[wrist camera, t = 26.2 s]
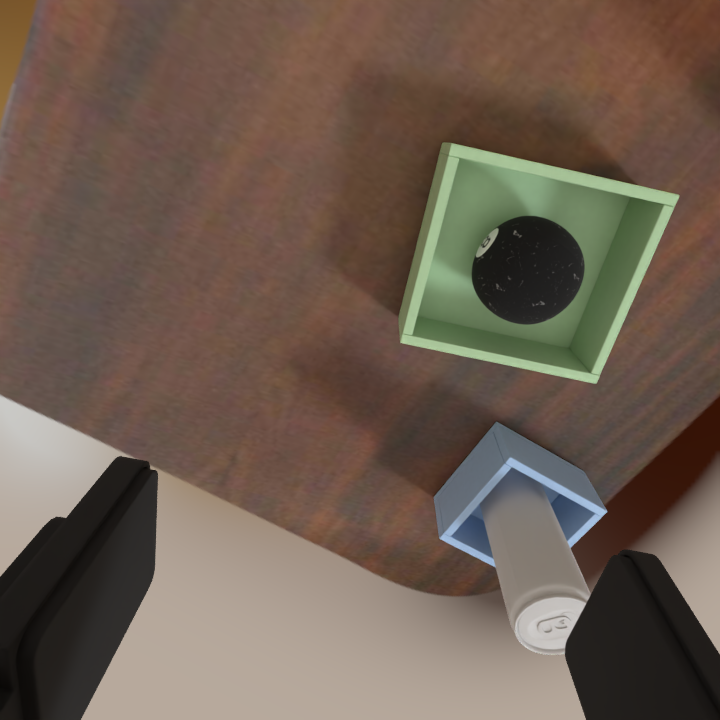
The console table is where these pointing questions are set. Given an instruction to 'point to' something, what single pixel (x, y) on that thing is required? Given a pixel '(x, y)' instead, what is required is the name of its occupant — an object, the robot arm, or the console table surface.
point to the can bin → (488, 467)
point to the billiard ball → (528, 270)
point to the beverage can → (533, 564)
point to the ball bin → (514, 199)
